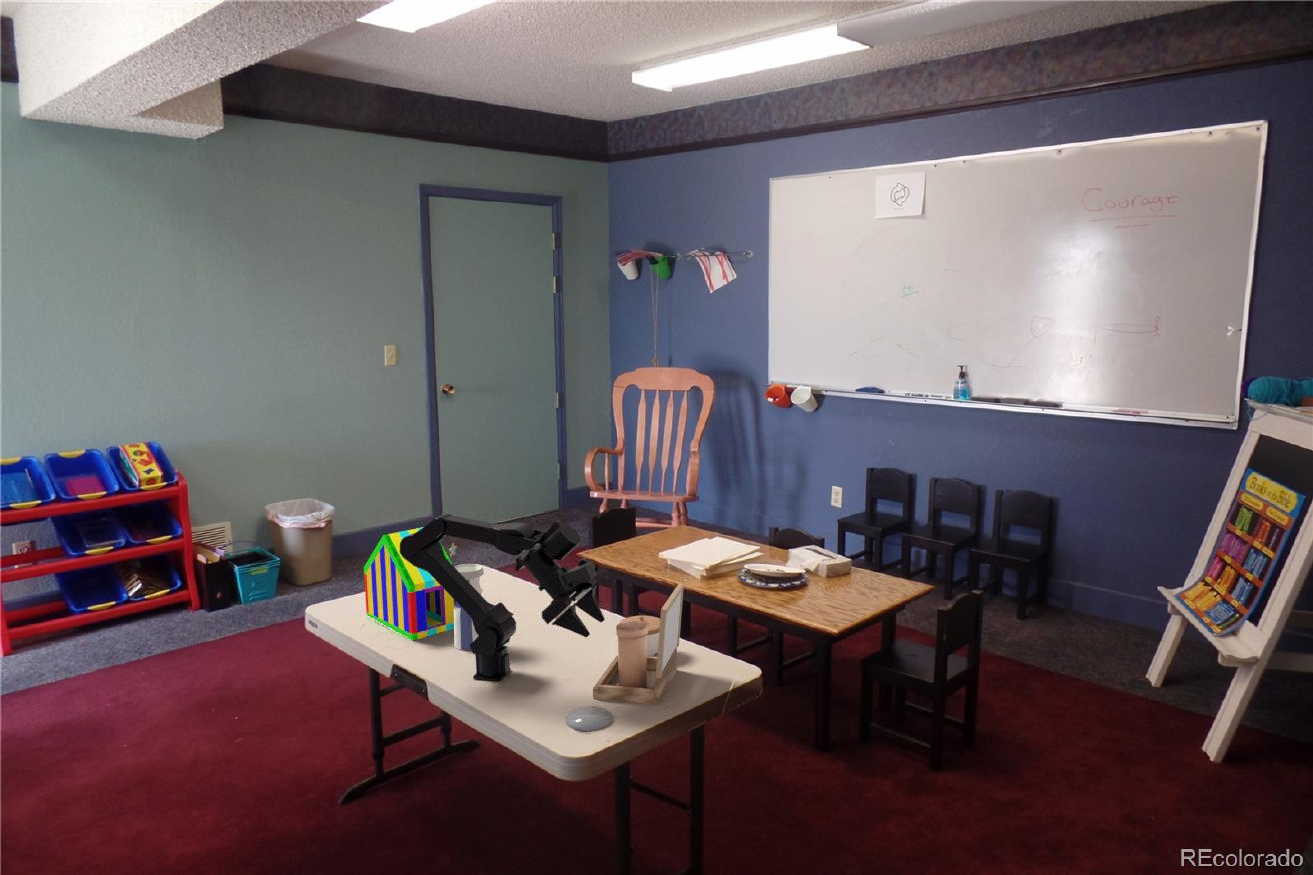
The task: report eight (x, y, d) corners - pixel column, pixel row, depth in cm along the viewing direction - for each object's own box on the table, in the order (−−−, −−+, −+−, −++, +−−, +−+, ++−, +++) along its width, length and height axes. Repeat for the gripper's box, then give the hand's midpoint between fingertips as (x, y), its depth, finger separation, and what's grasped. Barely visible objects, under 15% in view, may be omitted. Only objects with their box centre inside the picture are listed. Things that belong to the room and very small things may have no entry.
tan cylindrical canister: (613, 694, 182) (612, 630, 180) (622, 681, 189) (620, 619, 187) (644, 697, 181) (643, 632, 179) (651, 684, 187) (650, 621, 185)
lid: (655, 677, 176) (654, 609, 175) (674, 645, 194) (673, 582, 192) (666, 678, 176) (665, 609, 174) (684, 645, 194) (683, 582, 192)
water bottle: (448, 651, 208) (443, 549, 205) (456, 638, 217) (452, 540, 213) (482, 651, 208) (478, 549, 205) (489, 638, 217) (485, 540, 213)
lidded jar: (639, 643, 212) (639, 605, 211) (674, 653, 205) (673, 614, 204) (610, 656, 204) (609, 617, 203) (644, 667, 197) (644, 627, 196)
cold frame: (593, 699, 180) (592, 672, 180) (616, 666, 198) (616, 641, 197) (658, 705, 177) (658, 677, 177) (676, 671, 195) (676, 645, 194)
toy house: (366, 618, 233) (361, 527, 229) (412, 606, 242) (407, 518, 239) (412, 641, 216) (407, 543, 212) (460, 627, 225) (455, 533, 222)
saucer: (559, 729, 168) (559, 724, 167) (574, 709, 176) (573, 704, 176) (604, 733, 166) (603, 729, 165) (616, 713, 174) (616, 708, 174)
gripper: (556, 561, 175) (607, 620, 174) (588, 539, 193) (635, 592, 192) (520, 594, 179) (570, 653, 177) (555, 569, 196) (600, 622, 195)
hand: (595, 628), depth 185 cm, fingers open, 9 cm apart
